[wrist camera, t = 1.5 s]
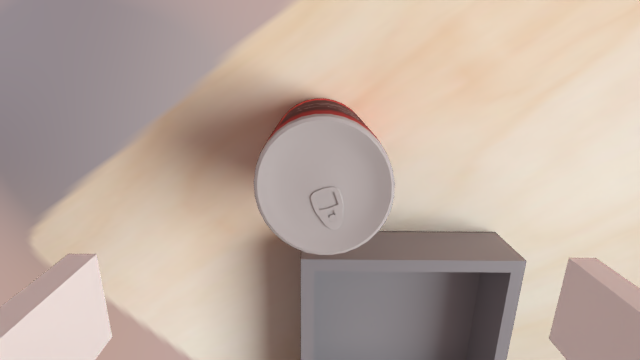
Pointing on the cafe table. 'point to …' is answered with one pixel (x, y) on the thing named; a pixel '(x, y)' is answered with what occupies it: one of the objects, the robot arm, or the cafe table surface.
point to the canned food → (323, 179)
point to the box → (412, 298)
